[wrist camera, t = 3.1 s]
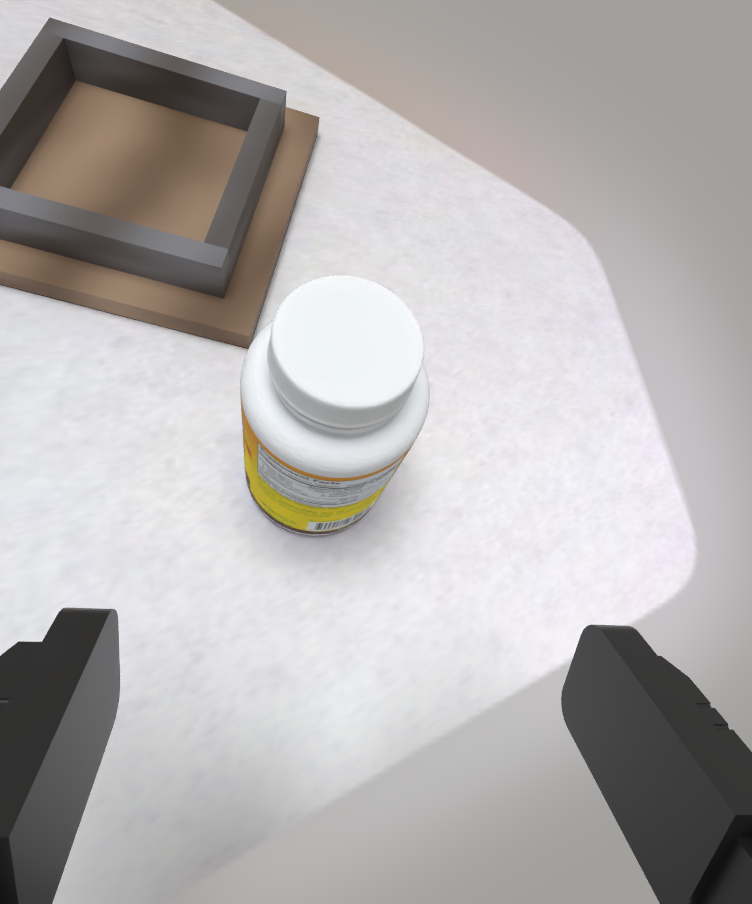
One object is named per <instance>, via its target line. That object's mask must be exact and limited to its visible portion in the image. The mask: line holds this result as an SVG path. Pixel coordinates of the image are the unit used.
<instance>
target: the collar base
mask: <svg viewBox="0 0 752 904" xmlns="http://www.w3.org/2000/svg"><path fill="white" fill-rule="evenodd" d="M318 125H319V117H317V116H313V115H310V114H307V113H304V112H300V111H297V110H294V109H291V108H287V107H286V91H285V90H281V89H278V88H275V87H272V86H268V85H265V84H262V83H259V82H256V81H252V80H249V79H246V78H243V77H239V76H236V75H233V74H230V73H227V72H223V71H220V70H217V69H214V68H210V67H207V66H204V65H201V64H198V63H194V62H191V61H188V60H185V59H181V58H178V57H175V56H172V55H169V54H165V53H162V52H159V51H156V50H152V49H149V48H146V47H143V46H140V45H136V44H133V43H130V42H127V41H123V40H120V39H117V38H114V37H111V36H107V35H104V34H101V33H98V32H94V31H91V30H88V29H85V28H82V27H78V26H75V25H72V24H69V23H65V22H62V21H59V20H56V19H52V18H49V19H48V21H47V22H46V24H45V25H44V27H43V28H42V30H41V31H40V33H39V34H38V36H37V37H36V38H35V40H34V41H33V43H32V44H31V46H30V47H29V49H28V50H27V52H26V53H25V55H24V56H23V58H22V59H21V61H20V62H19V63H18V65H17V66H16V68H15V69H14V71H13V72H12V74H11V75H10V77H9V78H8V80H7V81H6V83H5V84H4V86H3V87H2V88H1V90H0V284H1V285H4V286H8V287H12V288H16V289H20V290H24V291H28V292H31V293H35V294H39V295H43V296H47V297H51V298H55V299H59V300H62V301H66V302H70V303H74V304H78V305H82V306H86V307H89V308H93V309H97V310H101V311H105V312H109V313H113V314H117V315H120V316H124V317H128V318H132V319H136V320H140V321H144V322H147V323H151V324H155V325H159V326H163V327H167V328H171V329H175V330H178V331H182V332H186V333H190V334H194V335H198V336H202V337H205V338H209V339H213V340H217V341H221V342H225V343H229V344H233V345H236V346H240V347H244V348H248V349H249V347H250V344H251V341H252V338H253V335H254V332H255V329H256V325H257V322H258V319H259V316H260V313H261V310H262V307H263V303H264V300H265V297H266V294H267V291H268V288H269V285H270V281H271V278H272V275H273V272H274V269H275V266H276V263H277V259H278V256H279V253H280V250H281V247H282V244H283V241H284V238H285V234H286V231H287V228H288V225H289V222H290V219H291V216H292V212H293V209H294V206H295V203H296V200H297V197H298V194H299V190H300V187H301V184H302V181H303V178H304V175H305V172H306V168H307V165H308V162H309V159H310V156H311V153H312V150H313V147H314V143H315V140H316V137H317V134H318Z"/></svg>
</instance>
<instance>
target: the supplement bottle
mask: <svg viewBox="0 0 752 904" xmlns="http://www.w3.org/2000/svg"><path fill="white" fill-rule="evenodd" d="M423 359H424V340H423V335H422V331H421V329H420V326H419V324H418V321H417V320H416V318H415V316H414V314H413V313H412V311H411V310H410V309H409V307H408V306H407V305H406V304H405V303H404V302H403V301H402V300H401V299H400V298H399V297H398V296H396V295H395V294H394V293H393V292H391V291H390V290H388V289H386V288H385V287H383V286H381V285H379V284H377V283H375V282H372V281H369V280H366V279H363V278H359V277H354V276H344V275H338V276H327V277H322V278H318V279H314V280H311V281H309V282H307V283H304V284H303V285H301V286H299V287H297V288H296V289H295V290H294V291H292V292H291V293H290V294H289V295H288V296H287V297H286V298H285V299H284V301H283V302H282V303H281V304H280V306H279V308H278V310H277V312H276V314H275V316H274V319H273V320H272V321H271V322H270V323H269V324H267V325H266V326H265V327H264V328H263V329H262V330H261V332H260V333H259V334H258V335H257V336H256V338H255V339H254V340H253V342H252V344H251V345H250V347H249V349H248V351H247V354H246V356H245V359H244V362H243V366H242V371H241V380H240V393H241V410H242V425H243V443H244V459H245V472H246V480H247V485H248V488H249V491H250V493H251V496H252V498H253V499H254V501H255V503H256V504H257V506H258V507H259V508H260V510H261V511H262V512H263V513H264V514H265V515H266V516H267V517H268V518H269V519H270V520H272V521H273V522H275V523H276V524H277V525H279V526H281V527H283V528H285V529H287V530H289V531H292V532H296V533H299V534H305V535H327V534H332V533H336V532H339V531H341V530H344V529H346V528H348V527H350V526H352V525H353V524H355V523H356V522H357V521H359V520H360V519H361V518H362V517H363V516H364V515H365V514H366V513H367V512H368V511H369V510H370V509H371V507H372V506H373V505H374V503H375V502H376V500H377V499H378V497H379V496H380V494H381V493H382V491H383V490H384V488H385V487H386V485H387V483H388V482H389V480H390V479H391V477H392V476H393V474H394V473H395V471H396V470H397V468H398V467H399V465H400V464H401V462H402V461H403V459H404V458H405V456H406V454H407V453H408V451H409V450H410V448H411V447H412V445H413V444H414V442H415V440H416V438H417V436H418V435H419V433H420V431H421V429H422V427H423V424H424V422H425V419H426V416H427V412H428V407H429V396H430V395H429V382H428V377H427V373H426V369H425V366H424V363H423Z"/></svg>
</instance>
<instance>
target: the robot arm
mask: <svg viewBox="0 0 752 904" xmlns="http://www.w3.org/2000/svg"><path fill="white" fill-rule="evenodd" d="M119 693H120V664H119V632H118V615H117V611H116V610H115V609H92V608H63V609H62V610H61V611H60V612H59V613H58V615H57V617H56V618H55V620H54V622H53V624H52V625H51V627H50V629H49V631H48V632H47V634H46V636H45V638H44V639H43V641H42V642H17V643H16V644H15V645H14V646H12V647H11V648H10V649H9V650H7V651H6V652H5V653H3V654H2V655H1V656H0V904H52V902H53V899H54V896H55V894H56V891H57V888H58V885H59V882H60V879H61V876H62V873H63V870H64V867H65V864H66V862H67V859H68V856H69V853H70V850H71V847H72V844H73V841H74V838H75V835H76V833H77V830H78V827H79V824H80V821H81V818H82V815H83V812H84V809H85V806H86V803H87V801H88V798H89V795H90V792H91V789H92V786H93V783H94V780H95V777H96V774H97V771H98V769H99V766H100V763H101V760H102V757H103V754H104V751H105V748H106V745H107V742H108V739H109V737H110V734H111V731H112V728H113V725H114V721H115V717H116V713H117V708H118V702H119ZM561 698H562V699H561V701H562V712H563V716H564V720H565V723H566V725H567V727H568V729H569V731H570V733H571V735H572V737H573V739H574V741H575V743H576V745H577V747H578V749H579V750H580V752H581V754H582V756H583V758H584V760H585V762H586V764H587V766H588V768H589V769H590V771H591V773H592V775H593V777H594V779H595V781H596V783H597V785H598V787H599V788H600V790H601V792H602V794H603V796H604V798H605V800H606V802H607V804H608V806H609V807H610V809H611V811H612V813H613V815H614V817H615V819H616V821H617V823H618V825H619V826H620V828H621V830H622V832H623V834H624V836H625V838H626V840H627V842H628V844H629V845H630V847H631V849H632V851H633V853H634V855H635V857H636V859H637V861H638V863H639V865H640V866H641V868H642V870H643V872H644V874H645V876H646V878H647V880H648V882H649V883H650V885H651V887H652V889H653V891H654V893H655V895H656V897H657V899H658V901H659V902H660V904H752V752H751V751H750V750H749V748H748V747H747V746H746V745H745V744H744V742H743V741H742V740H741V739H740V738H739V736H738V735H737V734H736V733H735V732H734V730H729V728H728V723H727V722H726V721H725V720H724V719H723V717H722V716H721V715H720V714H719V713H718V712H717V710H716V709H715V708H711V706H710V702H709V701H708V699H707V698H706V697H705V696H704V695H703V694H702V692H701V691H700V690H699V689H698V688H697V686H696V685H695V684H694V683H693V682H692V680H691V679H690V678H689V677H688V676H686V675H685V674H684V673H682V672H681V671H680V670H679V669H677V668H676V667H674V666H673V665H672V664H671V663H669V662H668V661H667V660H666V659H664V658H663V657H662V656H657V655H656V653H655V652H654V651H653V650H652V648H651V647H650V646H649V645H648V644H647V642H646V641H645V640H644V639H643V637H642V636H641V635H640V634H639V632H638V631H637V630H636V629H634V628H633V627H630V626H615V625H589V626H587V627H586V628H585V629H584V630H583V632H582V634H581V637H580V640H579V642H578V645H577V648H576V651H575V654H574V657H573V660H572V663H571V666H570V669H569V672H568V675H567V677H566V681H565V683H564V686H563V690H562V697H561Z"/></svg>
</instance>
